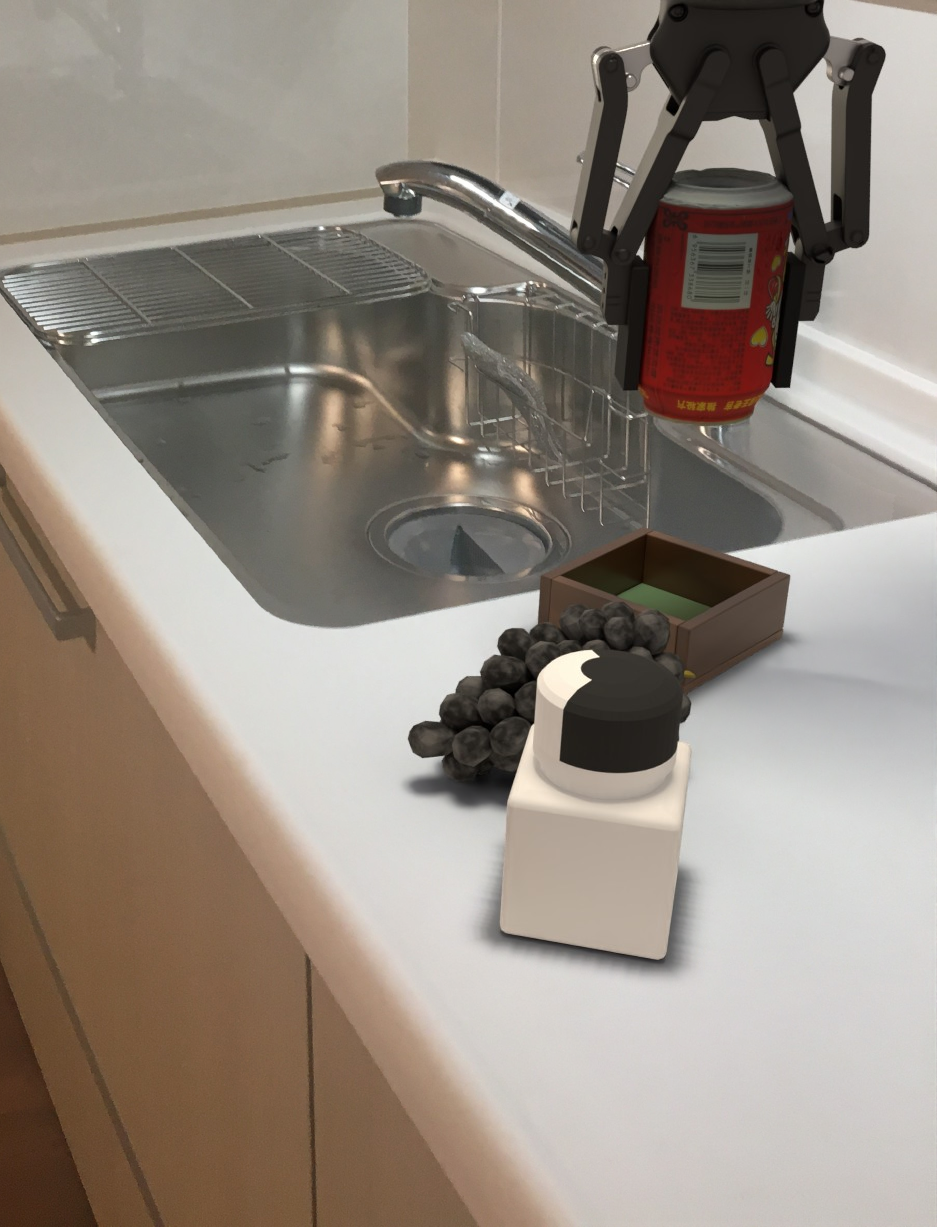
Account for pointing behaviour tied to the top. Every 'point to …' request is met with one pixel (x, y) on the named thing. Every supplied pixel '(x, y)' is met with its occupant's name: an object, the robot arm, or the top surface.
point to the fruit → (531, 685)
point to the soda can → (713, 295)
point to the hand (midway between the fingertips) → (700, 380)
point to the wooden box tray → (678, 597)
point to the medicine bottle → (598, 806)
